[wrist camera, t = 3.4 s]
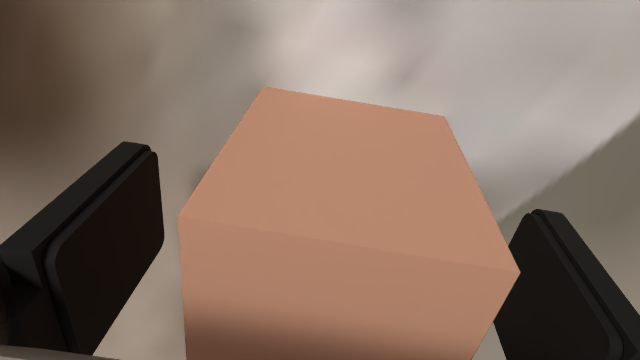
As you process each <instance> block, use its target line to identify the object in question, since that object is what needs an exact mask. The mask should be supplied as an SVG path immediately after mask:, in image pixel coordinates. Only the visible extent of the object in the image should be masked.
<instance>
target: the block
mask: <svg viewBox="0 0 640 360" xmlns="http://www.w3.org/2000/svg"><path fill="white" fill-rule="evenodd" d="M178 230H179V246H180V262H181V278H182V294H183V310H184V326H185V342H186V358H187V360H472V358H473V356H474V354H475V353H476V351H477V349H478V347H479V346H480V344H481V342H482V340H483V338H484V337H485V335H486V333H487V331H488V329H489V328H490V326H491V324H492V322H493V321H494V319H495V317H496V315H497V313H498V312H499V310H500V308H501V306H502V305H503V303H504V301H505V299H506V297H507V296H508V294H509V292H510V290H511V289H512V287H513V285H514V283H515V281H516V280H517V278H518V276H519V274H520V273H521V272H520V270H519V268H518V266H517V264H516V262H515V260H514V258H513V256H512V254H511V252H510V250H509V248H508V246H507V244H506V242H505V240H504V238H503V235H502V234H501V231H500V229H499V227H498V225H497V223H496V221H495V219H494V217H493V215H492V213H491V211H490V209H489V207H488V205H487V203H486V200H485V198H484V196H483V194H482V192H481V190H480V188H479V186H478V184H477V182H476V180H475V178H474V176H473V174H472V172H471V170H470V168H469V166H468V163H467V161H466V159H465V157H464V155H463V153H462V151H461V149H460V147H459V145H458V143H457V141H456V139H455V137H454V135H453V133H452V131H451V129H450V127H449V124H448V122H447V120H446V118H445V116H439V115H433V114H427V113H421V112H415V111H409V110H403V109H397V108H391V107H385V106H379V105H372V104H366V103H360V102H354V101H348V100H342V99H336V98H330V97H324V96H318V95H312V94H306V93H300V92H294V91H288V90H282V89H276V88H270V87H263V88H262V90H261V91H260V93H259V94H258V96H257V97H256V99H255V100H254V102H253V103H252V105H251V106H250V108H249V109H248V111H247V112H246V114H245V115H244V117H243V118H242V120H241V121H240V123H239V124H238V126H237V127H236V129H235V130H234V132H233V133H232V135H231V136H230V138H229V139H228V141H227V142H226V144H225V145H224V147H223V148H222V150H221V151H220V153H219V154H218V156H217V157H216V159H215V160H214V162H213V163H212V165H211V166H210V168H209V169H208V171H207V172H206V174H205V175H204V177H203V178H202V180H201V181H200V183H199V184H198V186H197V187H196V189H195V190H194V192H193V193H192V195H191V196H190V198H189V199H188V201H187V202H186V204H185V205H184V207H183V208H182V210H181V211H180V213H179V214H178Z"/></svg>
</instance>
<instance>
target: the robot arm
mask: <svg viewBox="0 0 640 360" xmlns="http://www.w3.org/2000/svg"><path fill="white" fill-rule="evenodd" d="M163 241H164V225H163V213H162V202H161V190H160V179H159V167H158V157H157V154H156V153H155V152H152V151H151V149H150V147H149V146H148V145H144V144H138V143H132V142H125V141H124V142H122V143H120V144H119V145H118V146H117V147H116V148H114V149H113V150H112V151H111V152H110V153H109V154H107V155H106V156H105V157H104V158H103V159H101V160H100V161H99V162H98V163H97V164H96V165H94V166H93V167H92V168H91V169H90V170H88V171H87V172H86V173H85V174H84V175H83V176H81V177H80V178H79V179H78V180H77V181H75V182H74V183H73V184H72V185H71V186H69V187H68V188H67V189H66V190H65V191H64V192H62V193H61V194H60V195H59V196H58V197H56V198H55V199H54V200H53V201H52V202H51V203H49V204H48V205H47V206H46V207H45V208H43V209H42V210H41V211H40V212H39V213H38V214H36V215H35V216H34V217H33V218H32V219H30V220H29V221H28V222H27V223H26V224H25V225H23V226H22V227H21V228H20V229H19V230H17V231H16V232H15V233H14V234H13V235H12V236H10V237H9V238H8V239H7V240H6V241H4V242H3V243H2V244H1V245H0V360H119V359H112V358H105V357H97V356H92V355H93V353H94V352H95V350H96V349H97V347H98V345H99V344H100V342H101V341H102V339H103V338H104V336H105V335H106V333H107V332H108V330H109V328H110V327H111V325H112V324H113V322H114V321H115V319H116V318H117V316H118V314H119V313H120V311H121V310H122V308H123V307H124V305H125V304H126V302H127V300H128V299H129V297H130V296H131V294H132V293H133V291H134V290H135V288H136V287H137V285H138V283H139V282H140V280H141V279H142V277H143V276H144V274H145V273H146V271H147V269H148V268H149V266H150V265H151V263H152V262H153V260H154V259H155V257H156V256H157V254H158V252H159V251H160V249H161V247H162V245H163ZM508 248H509V250H510V252H511V254H512V256H513V258H514V260H515V262H516V264H517V266H518V268H519V270H520V272H521V273H520V274H519V276H518V278H517V280H516V281H515V283H514V285H513V287H512V289H511V290H510V292H509V294H508V296H507V297H506V299H505V301H504V303H503V305H502V306H501V308H500V310H499V312H498V313H497V315H496V317H495V319H494V321H493V323H494V325H495V328H496V331H497V334H498V336H499V339H500V342H501V345H502V348H503V351H504V354H505V356H506V359H507V360H640V315H639V314H638V313H637V311H636V310H635V309H634V307H633V306H632V305H631V304H630V302H629V301H628V299H627V298H626V297H625V295H624V294H623V293H622V291H621V290H620V289H619V287H618V286H617V285H616V284H615V282H614V281H613V280H612V278H611V277H610V276H609V275H608V273H607V272H606V270H605V269H604V268H603V266H602V265H601V264H600V262H599V261H598V260H597V258H596V257H595V256H594V254H593V253H592V252H591V250H590V249H589V248H588V246H587V245H586V244H585V242H584V241H583V240H582V238H581V237H580V236H579V235H578V233H577V232H576V230H575V229H574V228H573V226H572V225H571V224H570V223H569V221H568V220H567V219H566V217H565V216H564V215H563V214H562V213H559V212H552V211H547V210H541V209H536V210H534V211H532V212H531V214H530V213H528V214H526V215H525V216H524V217H523V218H522V220H521V222H520V224H519V226H518V228H517V230H516V232H515V234H514V236H513V238H512V240H511V242H510V244H509V246H508Z"/></svg>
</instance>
